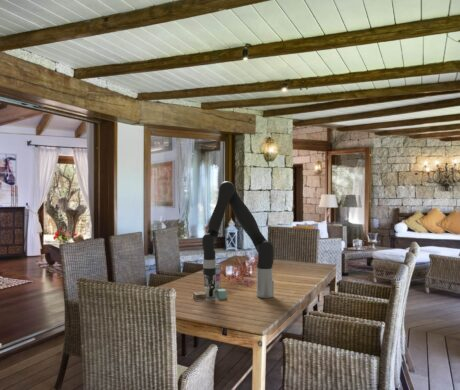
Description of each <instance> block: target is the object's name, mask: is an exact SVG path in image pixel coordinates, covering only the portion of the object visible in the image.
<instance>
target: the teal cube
mask: <svg viewBox="0 0 460 390" xmlns="http://www.w3.org/2000/svg"><path fill="white" fill-rule="evenodd" d="M216 293H217V298H219V300H225V299H227V290H226V289H225V288H220V289H217V291H216ZM224 298H225V299H224Z"/></svg>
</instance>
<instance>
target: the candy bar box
mask: <svg viewBox="0 0 460 390" xmlns="http://www.w3.org/2000/svg"><path fill="white" fill-rule="evenodd" d="M221 268H222V267H221V264H218V263H216V274H215V275H213V278H214V280H215V292H217V289H221ZM204 276H206V275H204ZM203 283H204V284H203V285H204V286H203V288H204V287H206V286H205V282H203Z"/></svg>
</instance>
